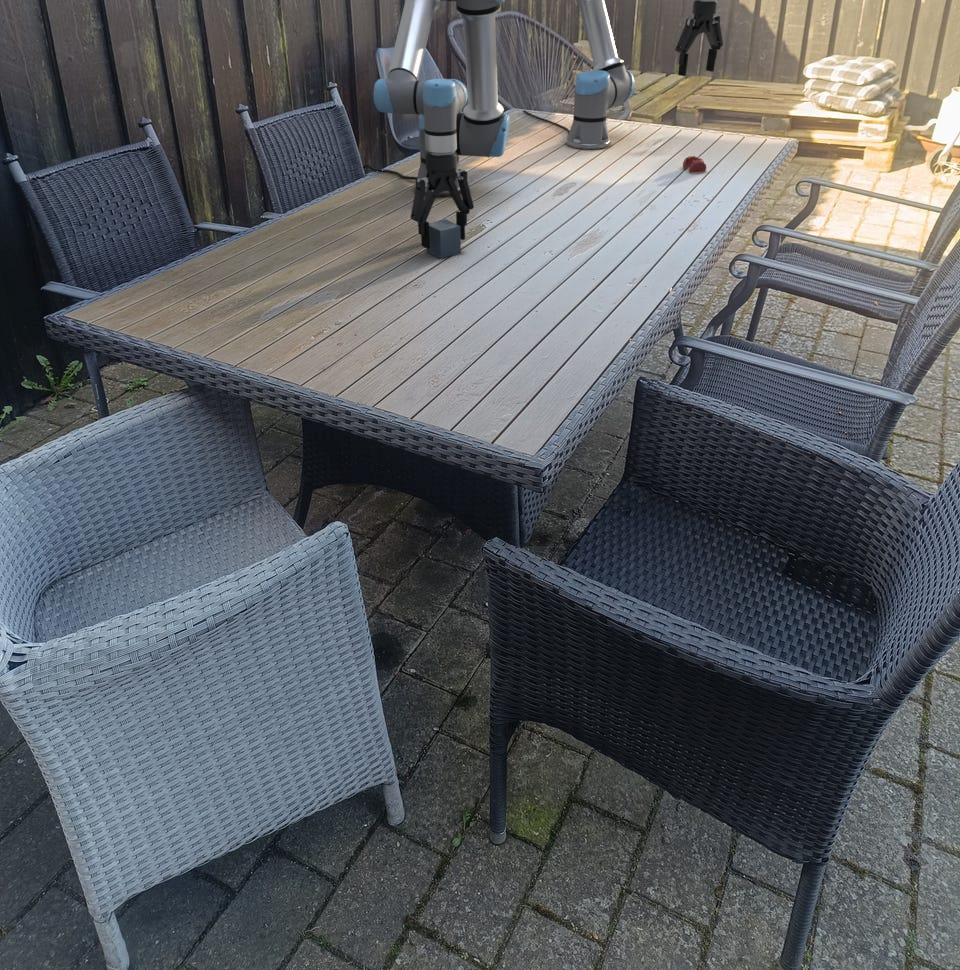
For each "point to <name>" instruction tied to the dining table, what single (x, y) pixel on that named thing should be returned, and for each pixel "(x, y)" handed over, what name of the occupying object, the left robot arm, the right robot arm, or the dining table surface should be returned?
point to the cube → (444, 238)
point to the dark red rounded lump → (694, 164)
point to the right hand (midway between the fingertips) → (695, 73)
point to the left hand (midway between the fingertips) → (443, 242)
